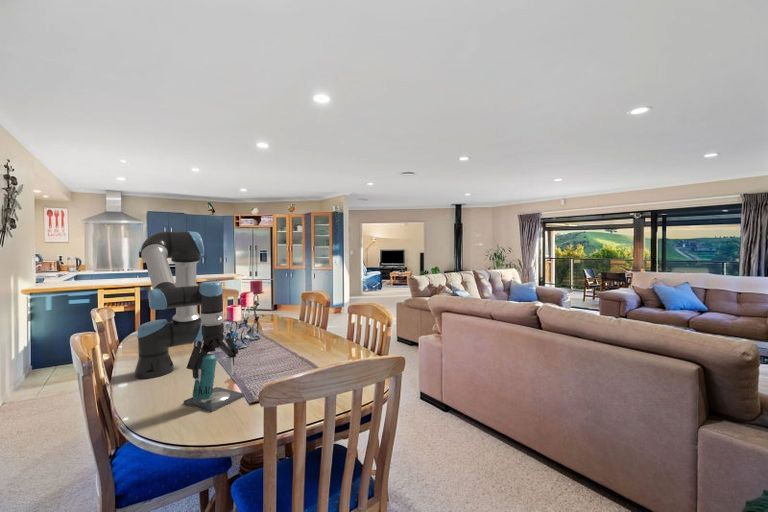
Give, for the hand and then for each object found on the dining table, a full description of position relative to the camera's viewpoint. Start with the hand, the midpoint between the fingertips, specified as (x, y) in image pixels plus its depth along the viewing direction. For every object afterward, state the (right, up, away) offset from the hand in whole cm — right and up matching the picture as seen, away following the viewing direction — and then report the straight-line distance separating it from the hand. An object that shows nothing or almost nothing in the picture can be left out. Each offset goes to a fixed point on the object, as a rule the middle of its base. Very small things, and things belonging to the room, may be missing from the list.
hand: (215, 380), depth 138 cm
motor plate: (0, -8, 0) cm, 8 cm away
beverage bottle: (-3, -6, -5) cm, 8 cm away
